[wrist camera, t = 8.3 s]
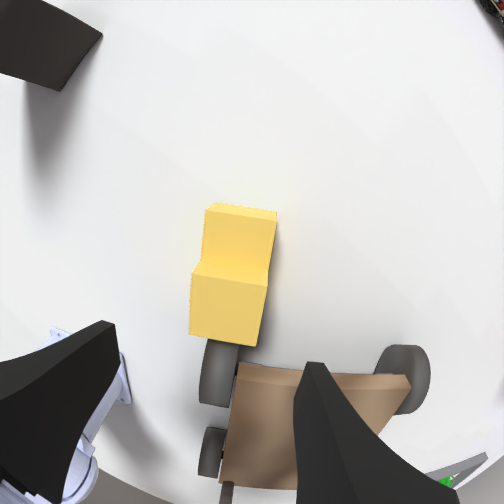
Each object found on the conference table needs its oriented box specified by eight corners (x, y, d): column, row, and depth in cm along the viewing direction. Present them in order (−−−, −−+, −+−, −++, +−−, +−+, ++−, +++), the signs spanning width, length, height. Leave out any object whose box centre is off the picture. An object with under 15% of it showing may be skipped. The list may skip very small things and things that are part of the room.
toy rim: (372, 510, 38) (373, 517, 36) (421, 474, 31) (424, 483, 29) (436, 492, 38) (437, 498, 35) (485, 451, 30) (488, 458, 28)
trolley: (206, 442, 27) (183, 544, 13) (218, 308, 20) (155, 495, 6) (336, 453, 26) (348, 548, 13) (411, 331, 20) (488, 467, 6)
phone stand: (104, 34, 14) (1, -16, 2) (61, 92, 15) (-53, 80, 4) (61, 9, 12) (-19, -24, 1) (26, 57, 14) (-60, 44, 3)
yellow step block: (206, 296, 20) (188, 334, 16) (215, 202, 18) (196, 217, 13) (259, 304, 20) (255, 346, 15) (276, 211, 18) (277, 229, 13)
